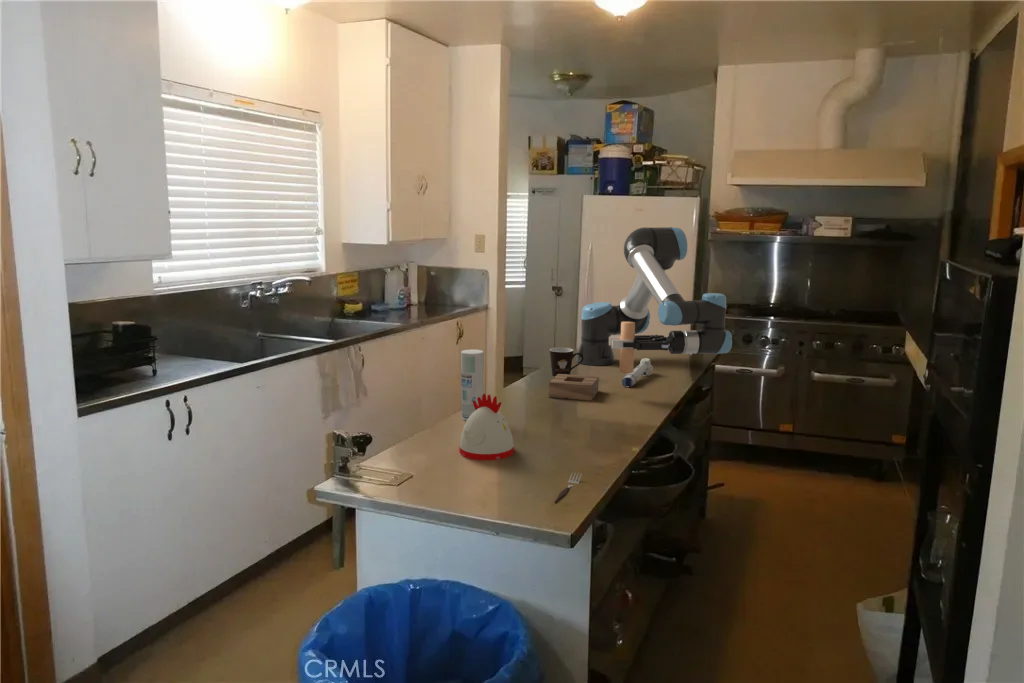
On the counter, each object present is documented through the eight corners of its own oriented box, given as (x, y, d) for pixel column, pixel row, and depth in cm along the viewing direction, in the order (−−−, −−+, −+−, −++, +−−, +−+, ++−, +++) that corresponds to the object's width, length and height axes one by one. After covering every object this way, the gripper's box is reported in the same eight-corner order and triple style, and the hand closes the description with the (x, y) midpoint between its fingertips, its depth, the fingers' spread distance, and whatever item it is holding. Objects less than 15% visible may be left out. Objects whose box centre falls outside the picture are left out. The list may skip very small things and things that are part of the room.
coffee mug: (546, 378, 271) (546, 351, 269) (553, 373, 279) (554, 346, 277) (576, 381, 267) (577, 353, 265) (583, 376, 275) (584, 349, 273)
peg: (620, 369, 244) (622, 321, 241) (633, 370, 243) (635, 321, 240) (618, 372, 240) (620, 323, 237) (632, 373, 239) (634, 324, 236)
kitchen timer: (494, 464, 182) (494, 404, 179) (448, 454, 189) (447, 396, 186) (523, 448, 193) (524, 392, 191) (479, 439, 201) (479, 385, 198)
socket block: (557, 388, 257) (557, 373, 256) (598, 391, 253) (598, 376, 252) (549, 397, 244) (549, 382, 243) (591, 400, 241) (591, 385, 240)
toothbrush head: (619, 376, 258) (640, 353, 280) (620, 394, 260) (641, 370, 282) (634, 377, 256) (654, 355, 277) (634, 395, 258) (654, 372, 279)
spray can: (488, 418, 220) (488, 351, 217) (472, 422, 216) (472, 354, 212) (472, 414, 225) (472, 348, 221) (456, 418, 220) (456, 351, 216)
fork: (548, 504, 159) (549, 495, 158) (571, 479, 173) (571, 470, 173) (560, 505, 158) (560, 496, 157) (582, 480, 172) (582, 472, 172)
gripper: (690, 359, 233) (615, 360, 232) (674, 348, 251) (605, 348, 249) (691, 335, 232) (616, 336, 230) (675, 326, 249) (605, 326, 247)
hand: (610, 342), depth 240 cm, fingers closed on peg, 4 cm apart
